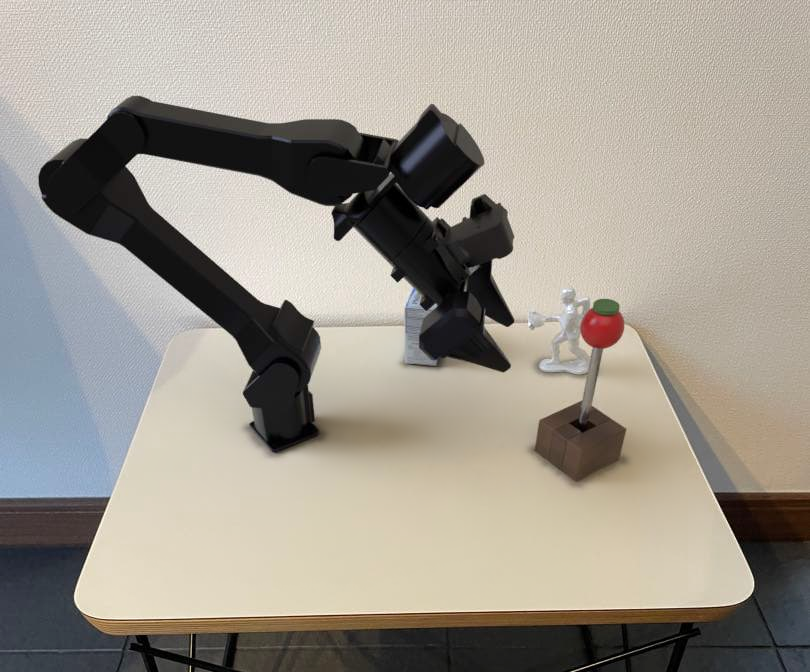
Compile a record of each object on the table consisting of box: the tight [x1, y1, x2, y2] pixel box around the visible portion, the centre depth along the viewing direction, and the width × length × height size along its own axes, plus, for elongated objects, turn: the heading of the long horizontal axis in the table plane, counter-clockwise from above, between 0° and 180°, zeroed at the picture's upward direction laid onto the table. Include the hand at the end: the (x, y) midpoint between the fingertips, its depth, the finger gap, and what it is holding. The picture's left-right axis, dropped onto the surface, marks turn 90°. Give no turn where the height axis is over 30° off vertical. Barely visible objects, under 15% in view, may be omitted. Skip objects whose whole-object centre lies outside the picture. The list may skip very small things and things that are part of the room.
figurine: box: [527, 285, 591, 376], centre depth 99 cm, size 5×9×12 cm, turn 96°
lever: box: [577, 298, 625, 433], centre depth 83 cm, size 4×4×19 cm
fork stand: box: [534, 400, 627, 483], centre depth 89 cm, size 7×7×4 cm
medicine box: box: [403, 287, 440, 367], centre depth 104 cm, size 8×4×9 cm, turn 168°
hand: (509, 345), depth 82 cm, fingers open, 9 cm apart
